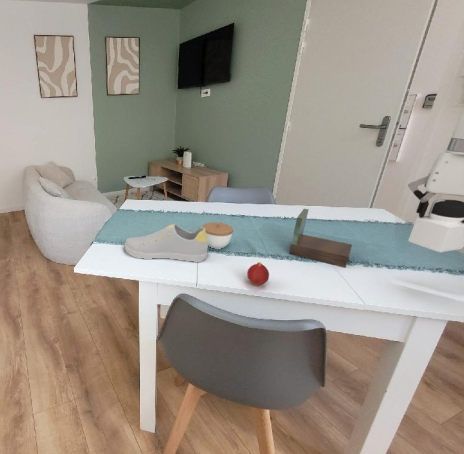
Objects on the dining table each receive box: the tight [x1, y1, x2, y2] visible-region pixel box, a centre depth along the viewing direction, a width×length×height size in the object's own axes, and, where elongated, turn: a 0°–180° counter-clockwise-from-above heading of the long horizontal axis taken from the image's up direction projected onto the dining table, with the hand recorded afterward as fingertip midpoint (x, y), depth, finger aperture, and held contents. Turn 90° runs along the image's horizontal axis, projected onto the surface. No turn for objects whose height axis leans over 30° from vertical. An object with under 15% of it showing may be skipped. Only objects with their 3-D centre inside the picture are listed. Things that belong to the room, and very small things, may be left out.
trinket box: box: [202, 221, 234, 250], centre depth 111 cm, size 11×11×9 cm
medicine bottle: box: [408, 198, 464, 253], centre depth 73 cm, size 7×7×12 cm
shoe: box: [124, 223, 209, 263], centre depth 106 cm, size 10×30×12 cm, turn 71°
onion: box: [246, 261, 270, 287], centre depth 86 cm, size 6×6×8 cm
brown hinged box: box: [288, 208, 353, 268], centre depth 100 cm, size 16×11×14 cm
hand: (442, 218), depth 73 cm, fingers closed on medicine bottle, 6 cm apart
